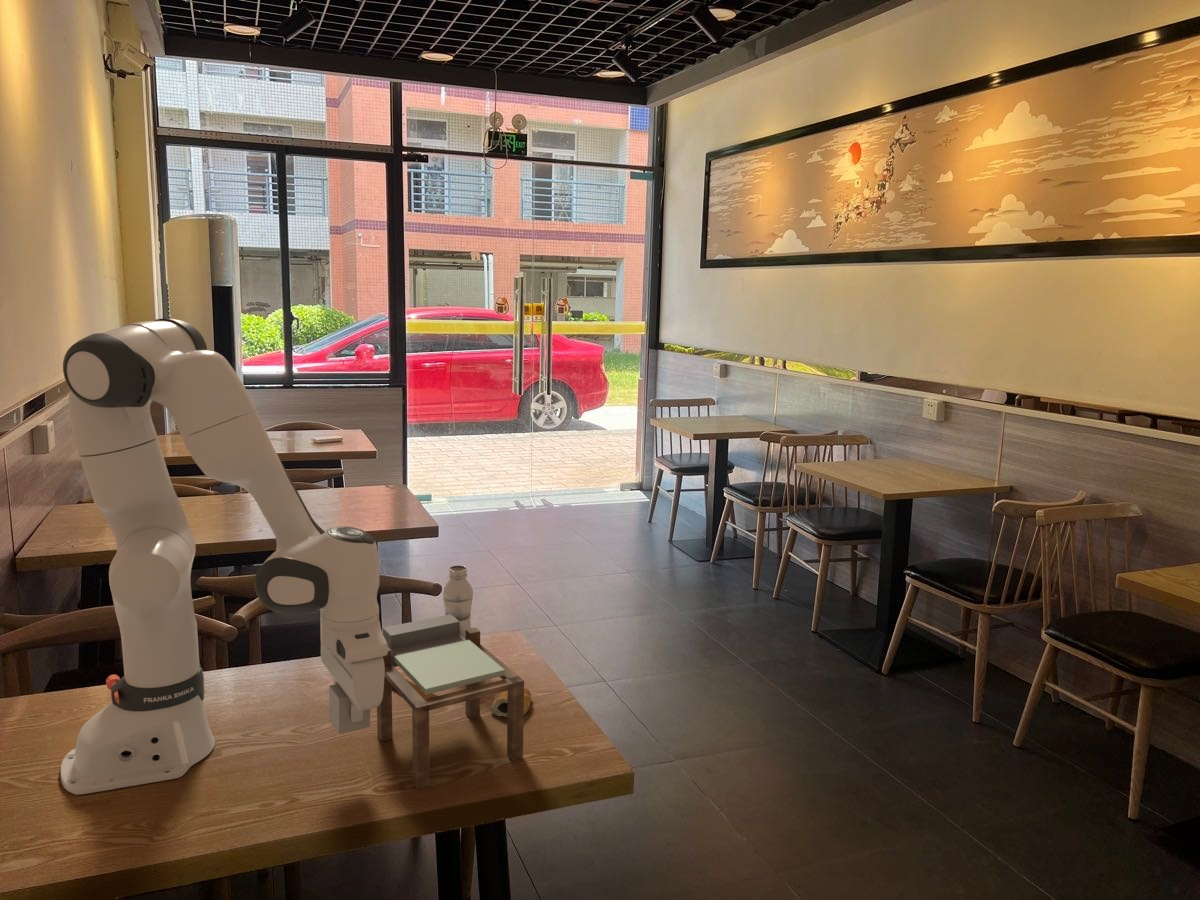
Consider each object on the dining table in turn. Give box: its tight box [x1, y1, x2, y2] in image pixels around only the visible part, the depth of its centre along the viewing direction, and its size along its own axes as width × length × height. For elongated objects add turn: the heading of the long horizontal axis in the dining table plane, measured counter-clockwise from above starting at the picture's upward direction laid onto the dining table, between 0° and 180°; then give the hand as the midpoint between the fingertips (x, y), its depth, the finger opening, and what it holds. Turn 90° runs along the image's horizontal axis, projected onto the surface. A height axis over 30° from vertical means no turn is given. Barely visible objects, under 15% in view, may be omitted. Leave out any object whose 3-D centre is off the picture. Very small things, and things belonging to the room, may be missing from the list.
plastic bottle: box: [442, 564, 474, 639], centre depth 182 cm, size 6×7×20 cm
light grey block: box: [328, 684, 371, 735], centre depth 138 cm, size 5×5×6 cm
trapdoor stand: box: [376, 626, 525, 791], centre depth 148 cm, size 19×19×16 cm
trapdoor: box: [382, 614, 505, 695], centre depth 149 cm, size 14×21×6 cm, turn 33°
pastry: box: [490, 687, 532, 718], centre depth 164 cm, size 9×7×4 cm
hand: (349, 710), depth 138 cm, fingers closed on light grey block, 5 cm apart
